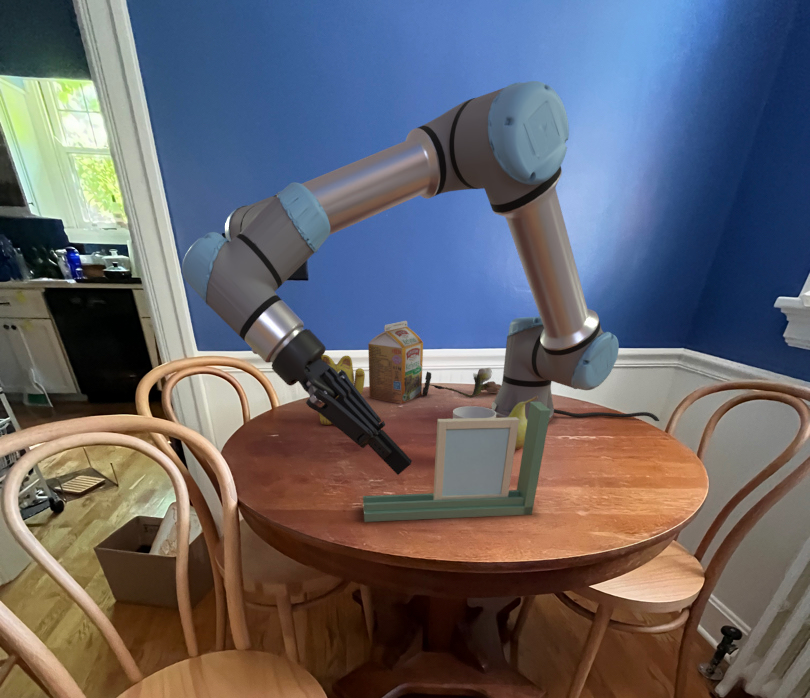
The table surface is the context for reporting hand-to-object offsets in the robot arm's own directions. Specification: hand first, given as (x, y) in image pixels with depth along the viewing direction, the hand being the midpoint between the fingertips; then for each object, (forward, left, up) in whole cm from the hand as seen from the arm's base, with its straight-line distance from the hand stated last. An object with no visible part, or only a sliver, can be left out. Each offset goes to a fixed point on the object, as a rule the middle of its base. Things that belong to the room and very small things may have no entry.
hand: (404, 467), depth 73 cm
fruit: (-26, -26, -8) cm, 38 cm away
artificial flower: (-25, -68, -8) cm, 73 cm away
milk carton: (-5, -68, -8) cm, 69 cm away
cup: (-15, -20, -8) cm, 27 cm away
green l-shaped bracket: (-7, 0, -8) cm, 11 cm away
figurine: (+10, -48, -8) cm, 49 cm away
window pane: (-11, 0, -6) cm, 12 cm away
